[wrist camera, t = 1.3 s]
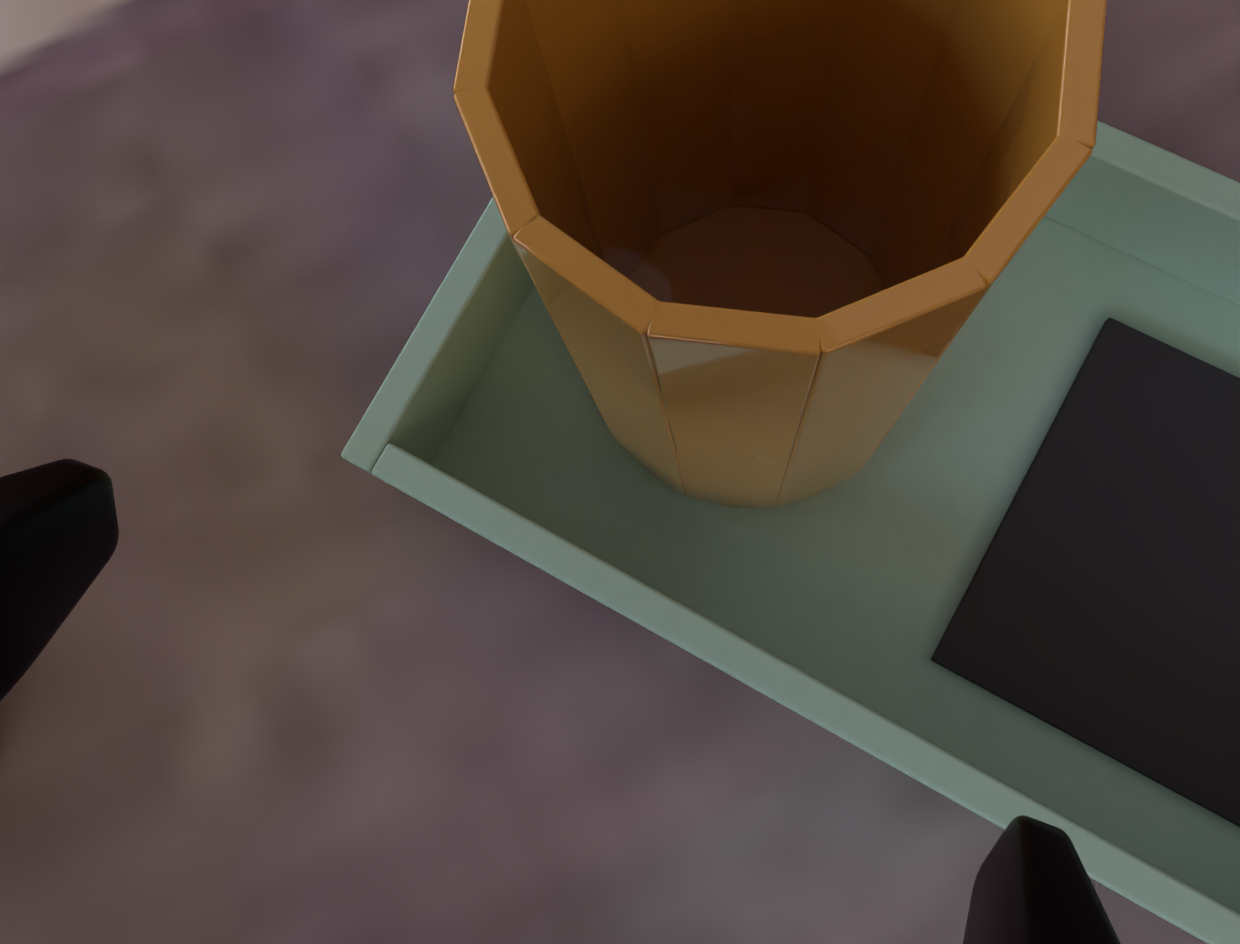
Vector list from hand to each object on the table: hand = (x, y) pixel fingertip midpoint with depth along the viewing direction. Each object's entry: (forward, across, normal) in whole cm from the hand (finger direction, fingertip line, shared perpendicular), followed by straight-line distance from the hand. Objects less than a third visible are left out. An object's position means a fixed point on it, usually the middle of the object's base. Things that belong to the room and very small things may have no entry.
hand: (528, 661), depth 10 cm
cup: (+14, 0, +4) cm, 14 cm away
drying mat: (+13, -10, +5) cm, 17 cm away
